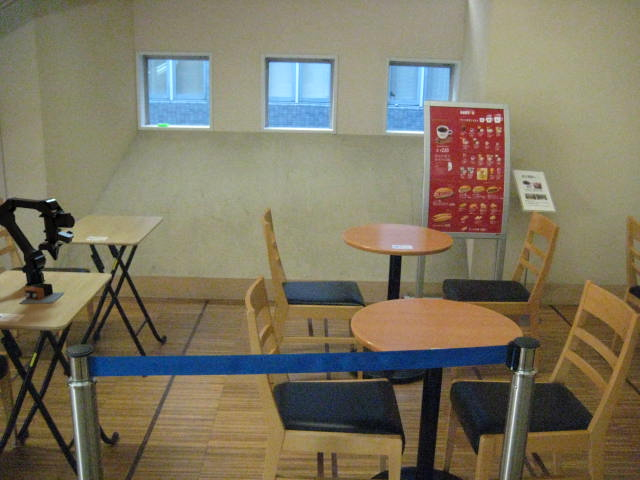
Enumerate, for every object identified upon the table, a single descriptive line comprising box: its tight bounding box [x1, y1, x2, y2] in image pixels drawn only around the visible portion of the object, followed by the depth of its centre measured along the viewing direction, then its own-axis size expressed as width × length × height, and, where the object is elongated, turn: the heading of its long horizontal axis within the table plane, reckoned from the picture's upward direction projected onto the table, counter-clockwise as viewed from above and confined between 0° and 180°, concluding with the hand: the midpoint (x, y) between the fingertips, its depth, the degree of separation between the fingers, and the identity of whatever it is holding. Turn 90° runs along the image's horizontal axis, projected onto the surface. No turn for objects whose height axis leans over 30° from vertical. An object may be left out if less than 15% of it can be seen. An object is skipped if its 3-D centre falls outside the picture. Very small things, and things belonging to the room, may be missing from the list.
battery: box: [24, 282, 54, 300], centre depth 251 cm, size 4×7×10 cm
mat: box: [19, 292, 65, 305], centre depth 250 cm, size 14×12×1 cm
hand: (55, 260), depth 264 cm, fingers closed
